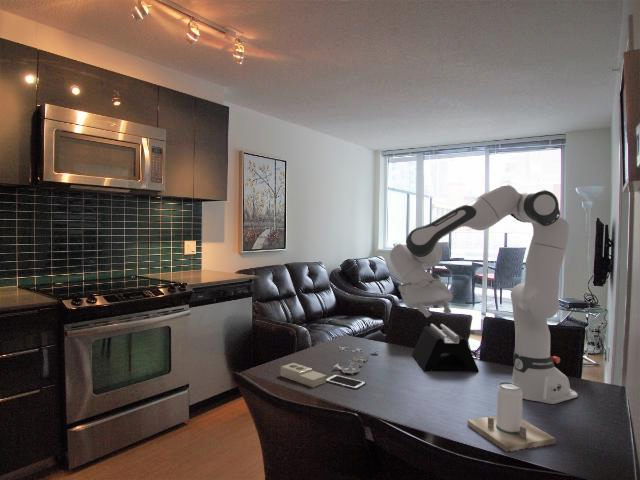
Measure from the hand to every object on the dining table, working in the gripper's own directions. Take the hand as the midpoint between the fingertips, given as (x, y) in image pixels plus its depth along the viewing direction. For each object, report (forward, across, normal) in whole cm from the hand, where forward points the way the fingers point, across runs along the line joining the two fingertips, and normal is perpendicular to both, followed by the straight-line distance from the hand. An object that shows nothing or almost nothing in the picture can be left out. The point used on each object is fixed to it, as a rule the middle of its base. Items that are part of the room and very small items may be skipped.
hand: (439, 314), depth 140 cm
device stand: (+1, +34, +41) cm, 53 cm away
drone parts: (-16, 0, +59) cm, 61 cm away
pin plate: (+39, 0, +2) cm, 39 cm away
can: (+38, 0, +1) cm, 38 cm away
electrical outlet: (-8, -28, +51) cm, 59 cm away
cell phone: (0, -16, +43) cm, 46 cm away
